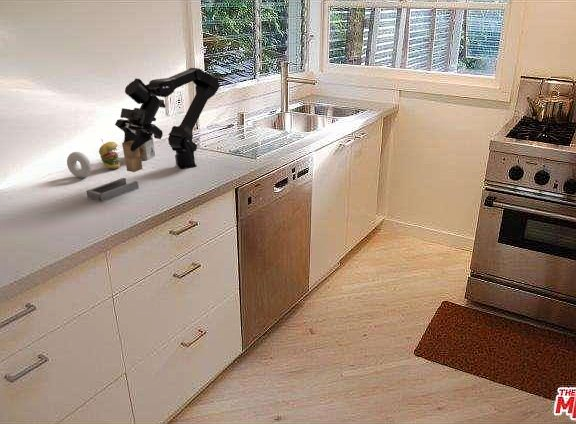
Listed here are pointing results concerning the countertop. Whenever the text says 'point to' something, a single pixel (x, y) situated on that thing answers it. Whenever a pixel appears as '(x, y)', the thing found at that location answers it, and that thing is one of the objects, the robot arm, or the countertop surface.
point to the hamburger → (109, 155)
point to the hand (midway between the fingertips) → (128, 150)
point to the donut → (83, 161)
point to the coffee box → (146, 148)
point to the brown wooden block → (132, 157)
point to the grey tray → (111, 190)
